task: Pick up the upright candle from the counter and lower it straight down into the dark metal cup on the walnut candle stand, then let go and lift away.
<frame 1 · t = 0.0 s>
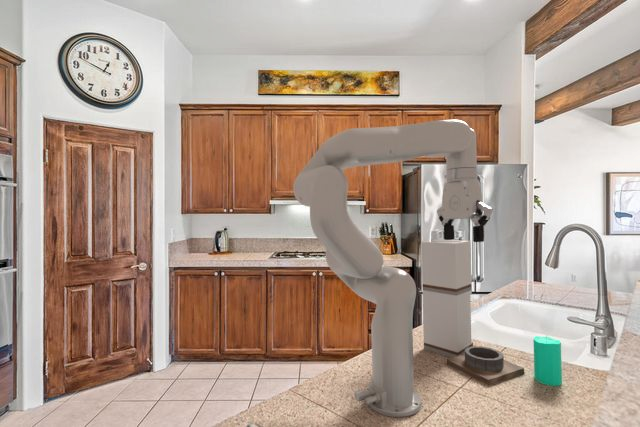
hand: (463, 240, 90), 37 cm above the table, tool pointing down, fingers open, 9 cm apart
tall banded pillar: (448, 349, 109), on the table
candle: (547, 380, 88), on the table
candle stand: (484, 368, 95), on the table
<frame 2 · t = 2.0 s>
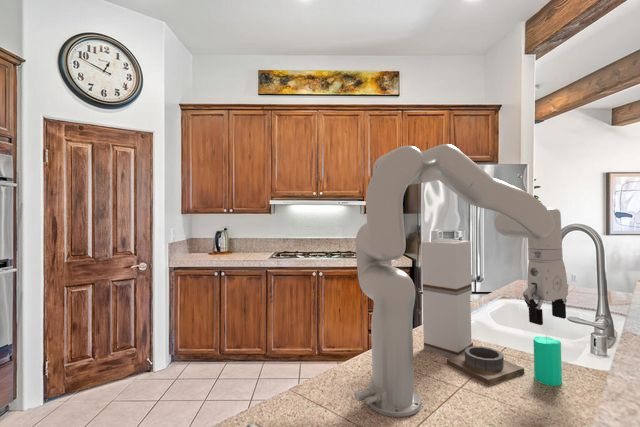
hand: (547, 320, 88), 16 cm above the table, tool pointing down, fingers open, 9 cm apart
nothing on the table moved.
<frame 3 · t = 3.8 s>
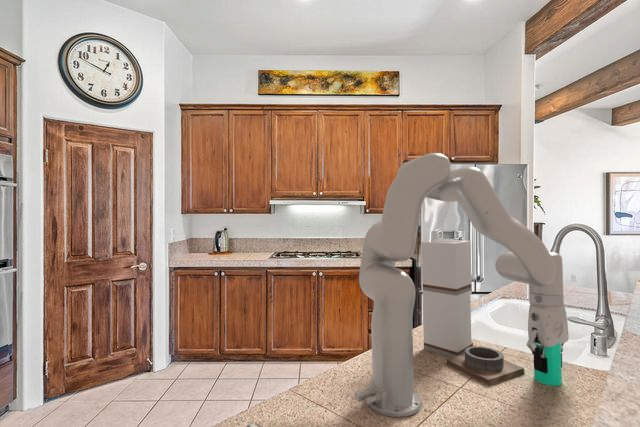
hand: (548, 367, 88), 3 cm above the table, tool pointing down, fingers closed on candle, 5 cm apart
candle: (547, 380, 88), on the table, touching gripper
everything else where it was.
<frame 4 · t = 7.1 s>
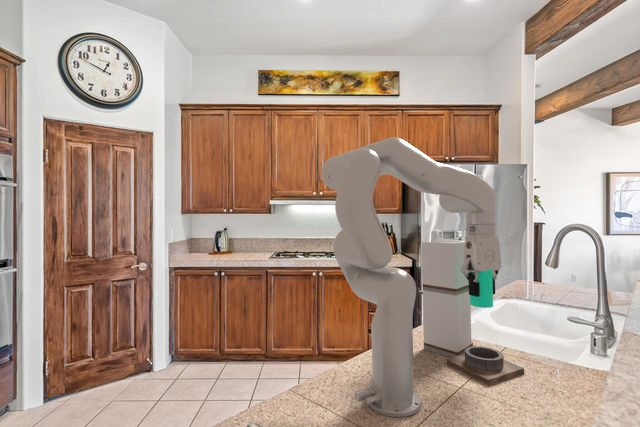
hand: (482, 293, 95), 21 cm above the table, tool pointing down, fingers closed on candle, 5 cm apart
candle: (481, 305, 95), point 18 cm above the table, touching gripper
everything else where it was.
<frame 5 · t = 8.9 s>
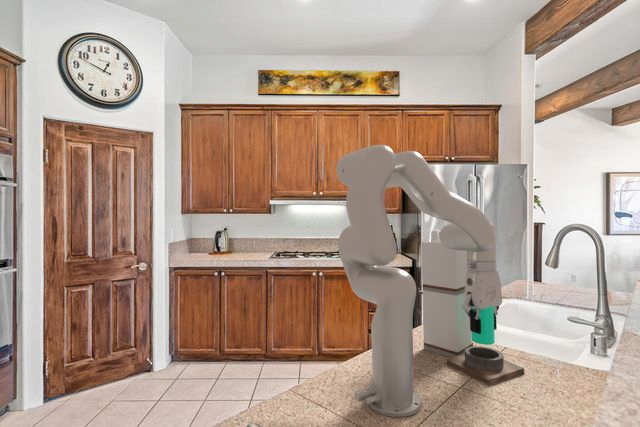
hand: (483, 329, 95), 11 cm above the table, tool pointing down, fingers closed on candle, 5 cm apart
candle: (482, 341, 95), point 8 cm above the table, touching gripper
everything else where it was.
when the fingers open (6 cm above the table, at t = 10.4 s): candle drops 1 cm, resting on candle stand.
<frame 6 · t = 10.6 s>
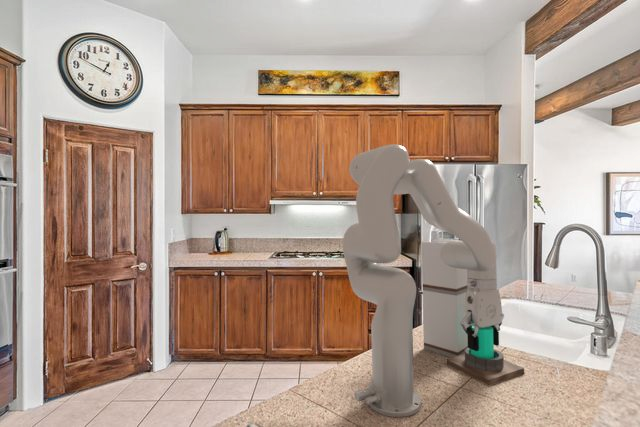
hand: (483, 346, 95), 6 cm above the table, tool pointing down, fingers open, 7 cm apart
candle: (482, 364, 95), point 1 cm above the table, touching candle stand
everything else where it was.
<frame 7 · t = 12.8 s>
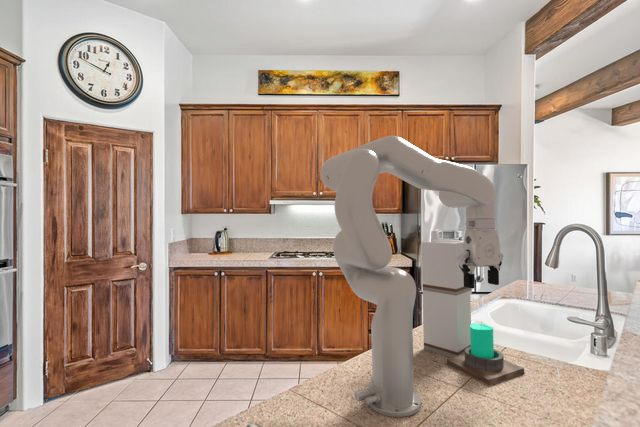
hand: (481, 285, 95), 23 cm above the table, tool pointing down, fingers open, 9 cm apart
nothing on the table moved.
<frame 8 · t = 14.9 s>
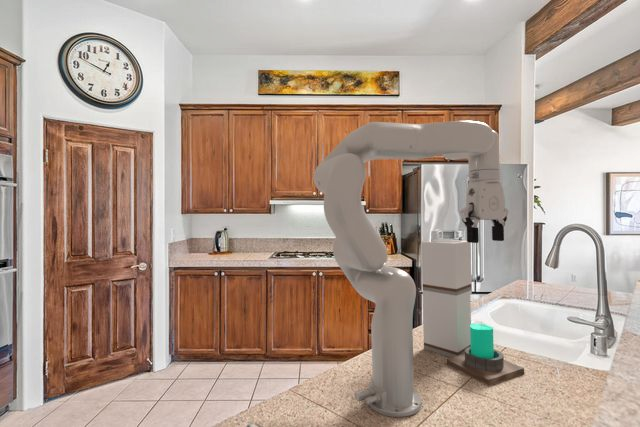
hand: (485, 241, 90), 36 cm above the table, tool pointing down, fingers open, 9 cm apart
nothing on the table moved.
at the end: candle 0.6 cm off-centre on the candle stand, point 1.3 cm above the candle stand's base; candle tilted 0°; the gripper is holding nothing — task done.
